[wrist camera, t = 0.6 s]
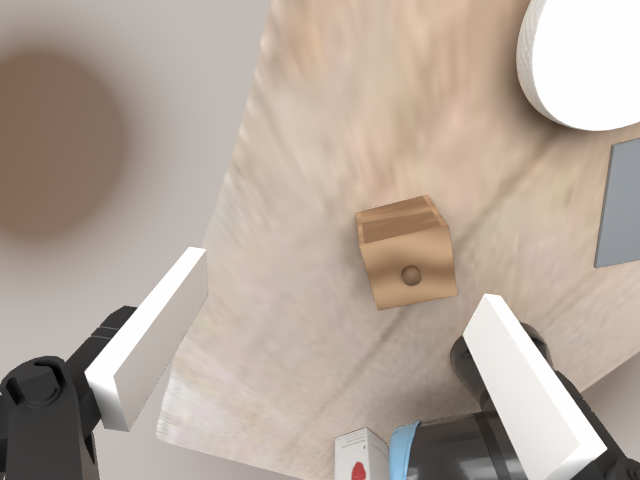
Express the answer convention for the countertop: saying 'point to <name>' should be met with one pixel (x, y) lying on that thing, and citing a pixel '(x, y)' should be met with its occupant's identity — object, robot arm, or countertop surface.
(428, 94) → the countertop surface
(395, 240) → the walnut cover
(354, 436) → the supplement box
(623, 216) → the slate mat
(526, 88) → the cereal bowl
